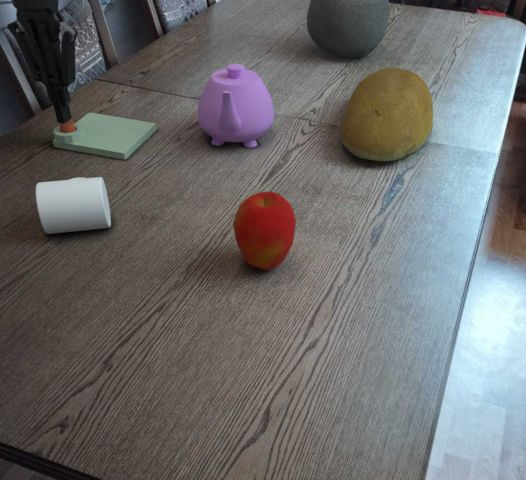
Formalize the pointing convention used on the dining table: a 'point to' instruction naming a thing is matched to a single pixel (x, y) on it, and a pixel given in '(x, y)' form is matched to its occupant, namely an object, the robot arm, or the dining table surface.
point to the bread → (388, 115)
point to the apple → (265, 229)
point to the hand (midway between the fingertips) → (64, 120)
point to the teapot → (235, 106)
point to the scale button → (67, 127)
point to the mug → (73, 205)
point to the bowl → (347, 25)
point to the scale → (105, 135)
